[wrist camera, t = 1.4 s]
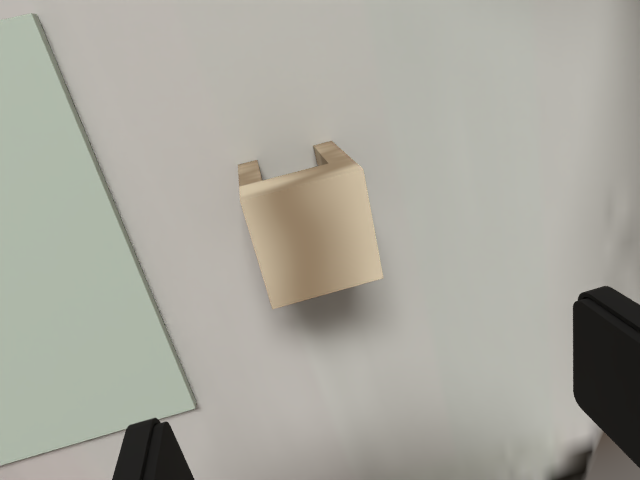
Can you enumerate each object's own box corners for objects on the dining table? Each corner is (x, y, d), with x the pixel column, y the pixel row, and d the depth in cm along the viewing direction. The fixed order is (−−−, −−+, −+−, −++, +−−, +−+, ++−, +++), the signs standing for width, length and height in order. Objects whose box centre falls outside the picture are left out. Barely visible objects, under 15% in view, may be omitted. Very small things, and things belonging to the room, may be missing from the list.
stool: (331, 140, 25) (363, 169, 19) (349, 227, 27) (383, 278, 21) (237, 164, 24) (240, 201, 19) (263, 251, 26) (272, 309, 20)
